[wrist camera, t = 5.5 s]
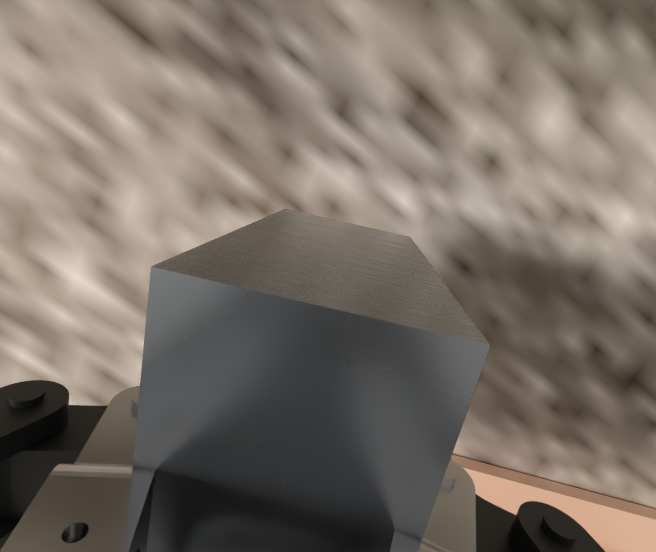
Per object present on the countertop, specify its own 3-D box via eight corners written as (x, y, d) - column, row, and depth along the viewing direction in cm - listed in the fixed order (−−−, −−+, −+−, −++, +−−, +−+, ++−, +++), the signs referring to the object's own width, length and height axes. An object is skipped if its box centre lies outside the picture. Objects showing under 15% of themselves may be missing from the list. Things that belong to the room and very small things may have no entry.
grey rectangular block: (285, 208, 12) (151, 266, 5) (410, 236, 12) (490, 345, 4) (242, 445, 15) (106, 747, 7) (346, 471, 14) (326, 808, 7)
